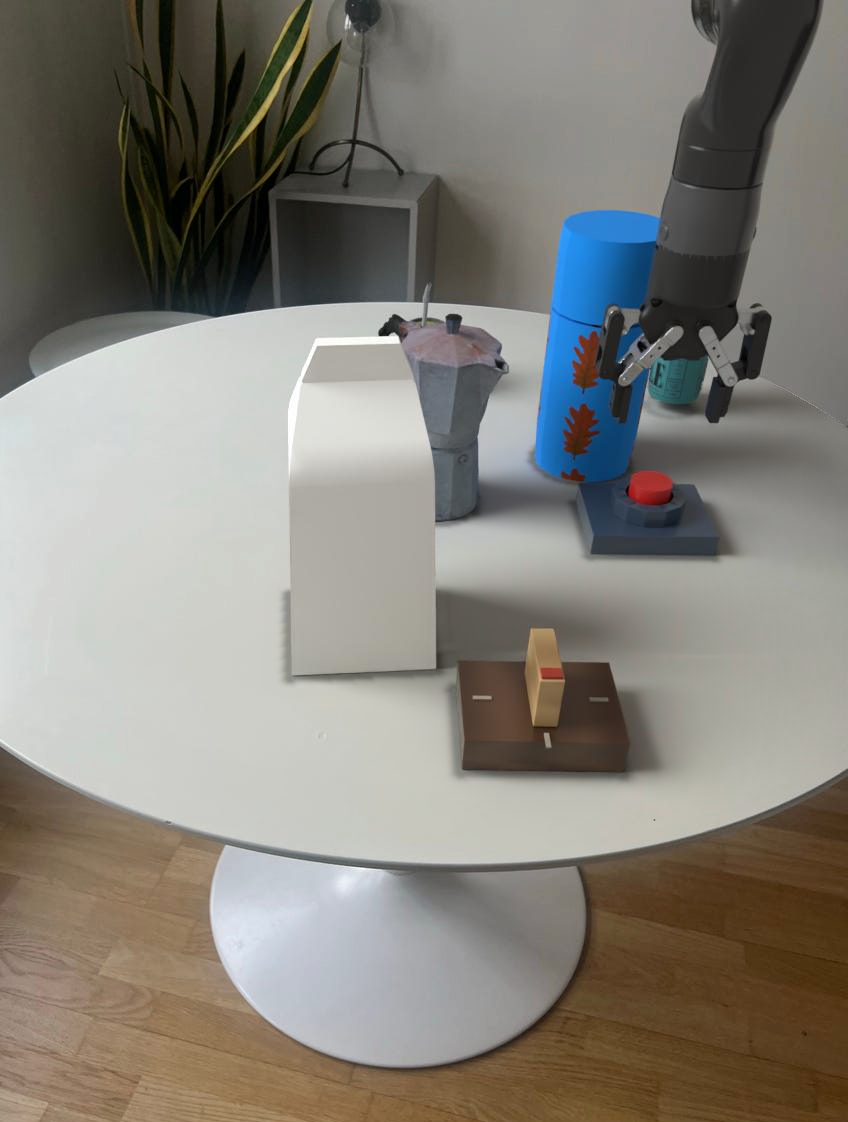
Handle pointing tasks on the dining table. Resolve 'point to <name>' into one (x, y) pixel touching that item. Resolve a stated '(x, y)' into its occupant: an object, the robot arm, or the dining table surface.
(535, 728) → the panel
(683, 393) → the beverage bottle
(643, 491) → the button
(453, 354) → the moka pot
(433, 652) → the milk
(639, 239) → the thermos
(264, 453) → the dining table surface
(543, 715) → the handle
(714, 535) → the button box
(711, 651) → the dining table surface
